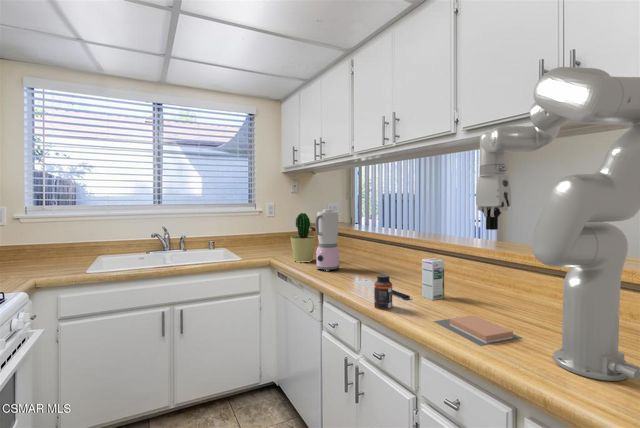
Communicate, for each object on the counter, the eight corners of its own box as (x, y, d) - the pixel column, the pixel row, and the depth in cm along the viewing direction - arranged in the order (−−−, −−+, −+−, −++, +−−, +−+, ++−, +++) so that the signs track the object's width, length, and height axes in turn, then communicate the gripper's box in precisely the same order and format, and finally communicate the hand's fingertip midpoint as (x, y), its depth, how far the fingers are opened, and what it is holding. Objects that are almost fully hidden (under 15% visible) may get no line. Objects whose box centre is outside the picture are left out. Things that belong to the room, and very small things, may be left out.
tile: (474, 321, 99) (512, 338, 87) (449, 325, 96) (485, 343, 84) (474, 315, 99) (513, 331, 87) (449, 318, 96) (485, 336, 84)
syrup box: (432, 300, 122) (433, 261, 121) (421, 296, 127) (421, 258, 126) (444, 298, 124) (444, 259, 123) (432, 294, 129) (433, 257, 129)
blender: (326, 266, 187) (326, 209, 186) (344, 269, 179) (343, 209, 178) (307, 270, 175) (307, 209, 174) (325, 273, 167) (325, 210, 166)
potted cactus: (317, 259, 210) (316, 211, 209) (314, 263, 195) (314, 212, 194) (293, 258, 212) (292, 211, 211) (288, 263, 196) (288, 212, 195)
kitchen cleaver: (347, 282, 148) (366, 277, 152) (348, 285, 148) (367, 280, 152) (392, 301, 120) (413, 294, 124) (392, 305, 120) (414, 298, 124)
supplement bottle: (395, 310, 111) (395, 276, 110) (378, 312, 109) (378, 277, 109) (387, 305, 116) (387, 273, 116) (371, 306, 115) (371, 274, 115)
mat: (523, 340, 87) (523, 338, 87) (480, 348, 82) (480, 345, 82) (470, 317, 104) (470, 315, 104) (433, 323, 99) (433, 321, 99)
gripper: (522, 169, 100) (521, 231, 101) (483, 173, 114) (482, 227, 115) (503, 169, 98) (502, 231, 98) (465, 173, 112) (465, 228, 112)
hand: (491, 229), depth 107 cm, fingers closed
